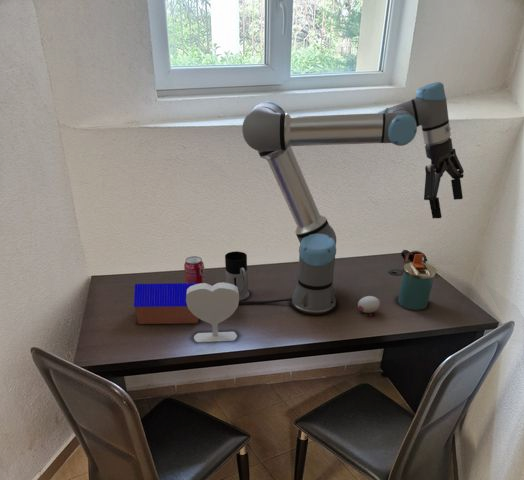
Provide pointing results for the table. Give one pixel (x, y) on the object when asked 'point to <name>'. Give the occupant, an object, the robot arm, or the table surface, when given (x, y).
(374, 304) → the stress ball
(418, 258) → the slider
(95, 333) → the table surface
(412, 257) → the pottery mug
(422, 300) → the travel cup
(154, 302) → the house
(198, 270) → the soda can
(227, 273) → the grey coffee mug
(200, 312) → the heart sculpture
